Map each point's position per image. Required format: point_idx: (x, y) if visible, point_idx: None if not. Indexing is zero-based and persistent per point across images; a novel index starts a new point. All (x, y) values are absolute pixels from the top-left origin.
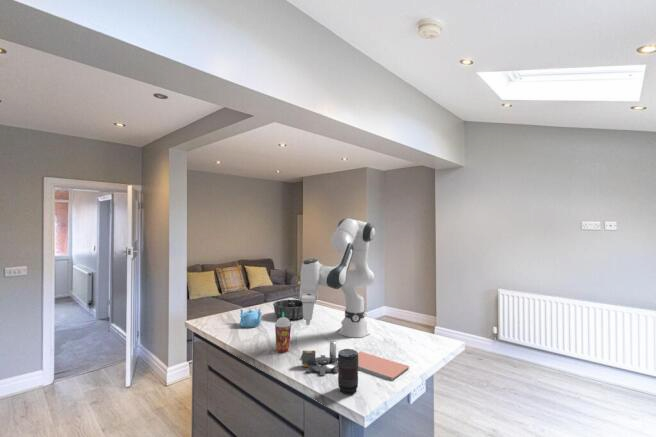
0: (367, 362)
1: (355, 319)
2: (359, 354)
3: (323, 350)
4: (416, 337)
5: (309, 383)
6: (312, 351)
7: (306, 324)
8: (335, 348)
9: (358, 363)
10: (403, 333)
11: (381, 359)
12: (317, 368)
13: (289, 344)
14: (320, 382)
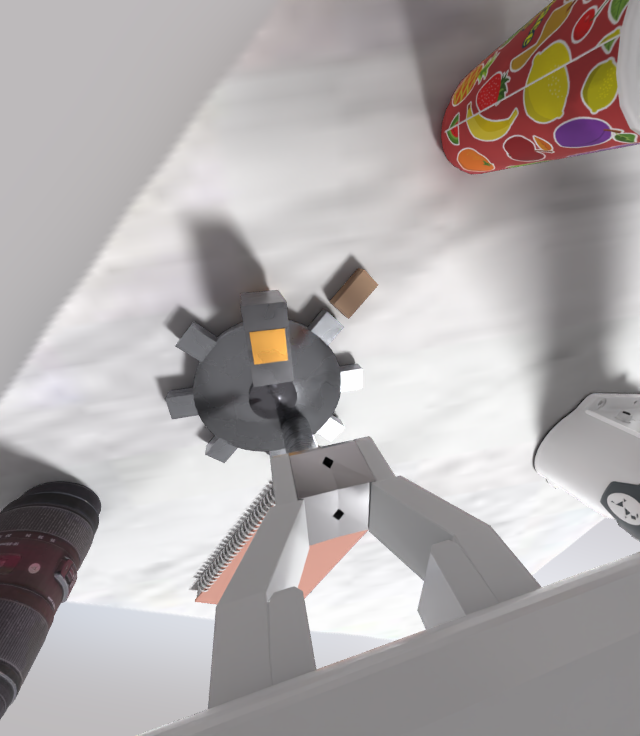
0: None
1: (618, 503)
2: None
3: (443, 360)
4: None
5: (61, 356)
6: (278, 366)
7: (272, 462)
8: None
9: None
10: (529, 553)
11: (335, 553)
12: (200, 380)
13: (495, 170)
14: (95, 402)
